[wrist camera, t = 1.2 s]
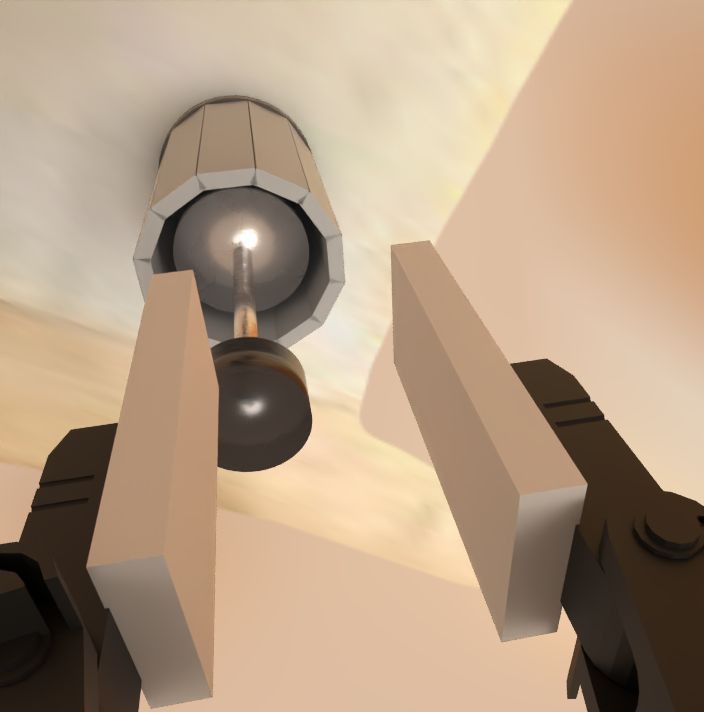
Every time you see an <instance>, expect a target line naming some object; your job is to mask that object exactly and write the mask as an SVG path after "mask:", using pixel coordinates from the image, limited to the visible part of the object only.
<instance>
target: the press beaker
mask: <svg viewBox="0 0 704 712" xmlns="http://www.w3.org/2000/svg"><path fill="white" fill-rule="evenodd" d="M247 185H252V186H257V187H260V188H263V189H265V190H267V191H270V192H272V193H275V194H276V195H278V196H279V197H281V198H282V199H284V200H285V201H286V202H287V203H288V204H289V205H290V206H291V207H292V208H293V209H294V210H295V211H296V213H297V214H298V216H299V217H300V219H301V221H302V223H303V225H304V228H305V232H306V235H307V239H308V245H309V261H308V266H307V270H306V273H305V275H304V278H303V279H302V281H301V283H300V284H299V286H298V287H297V288H296V290H295V291H294V292H293V293H292V294H291V295H290V296H289V297H288V298H286V299H285V300H284V301H282V302H281V303H279V304H277V305H276V306H273V307H271V308H269V309H266V310H263V311H259V312H256V318H257V332H258V338H264V339H268V340H271V341H274V342H277V343H279V344H280V345H282V346H284V347H285V348H289V347H290V346H292V345H293V344H295V343H296V342H298V341H299V340H301V339H302V338H304V337H306V336H307V335H309V334H310V333H312V332H313V331H315V330H316V329H318V328H319V327H321V326H322V324H324V322H325V320H326V318H327V316H328V315H329V313H330V311H331V309H332V307H333V305H334V303H335V301H336V299H337V297H338V295H339V294H340V292H341V290H342V288H343V286H344V284H345V273H344V259H343V246H342V234H341V231H340V229H339V226H338V223H337V221H336V218H335V215H334V213H333V210H332V207H331V205H330V202H329V199H328V197H327V194H326V191H325V189H324V186H323V183H322V181H321V178H320V175H319V173H318V170H317V167H316V164H315V162H314V159H313V156H312V153H311V150H310V148H309V145H308V143H307V141H306V139H305V137H304V135H303V134H302V132H301V131H300V129H299V128H298V127H297V126H296V124H295V123H294V122H293V121H292V120H291V119H290V118H289V117H288V116H287V115H286V114H284V113H283V112H282V111H280V110H279V109H277V108H276V107H274V106H272V105H270V104H268V103H266V102H263V101H261V100H258V99H254V98H250V97H245V96H223V97H217V98H213V99H210V100H207V101H204V102H202V103H200V104H198V105H196V106H194V107H193V108H191V109H190V110H188V111H187V112H186V113H185V114H184V115H183V116H181V117H180V118H179V119H178V121H177V122H176V123H175V124H174V126H173V127H172V129H171V130H170V132H169V134H168V135H167V138H166V140H165V142H164V145H163V148H162V152H161V156H160V161H159V170H158V174H157V177H156V181H155V184H154V187H153V191H152V194H151V198H150V201H149V205H148V208H147V212H146V215H145V218H144V222H143V225H142V229H141V232H140V236H139V239H138V243H137V246H136V249H135V253H134V256H133V262H134V265H135V269H136V273H137V276H138V280H139V284H140V287H141V291H142V294H143V298H144V302H145V301H146V296H147V292H148V287H149V283H150V278H151V275H154V274H162V273H170V272H177V269H176V266H175V263H174V256H173V244H174V237H175V232H176V228H177V225H178V223H179V220H180V218H181V216H182V215H183V213H184V212H185V210H186V209H187V208H188V207H189V205H190V204H191V203H192V202H194V201H195V200H196V199H197V198H198V197H200V196H201V195H203V194H204V193H206V192H208V191H210V190H213V189H220V188H229V187H238V186H247ZM200 304H201V308H202V313H203V318H204V322H205V327H206V331H207V336H208V340H209V345H210V348H212V347H213V346H215V345H217V344H219V343H221V342H223V341H226V340H229V339H233V338H234V313H232V312H226V311H222V310H219V309H216V308H214V307H211V306H209V305H208V304H206V303H204V302H202V301H201V300H200Z"/></svg>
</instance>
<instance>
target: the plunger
mask: <svg viewBox="0 0 704 712" xmlns="http://www.w3.org/2000/svg"><path fill="white" fill-rule="evenodd" d="M173 256H174V263H175V266H176V269H177V272H178V271H186V270H193V272H194V277H195V281H196V286H197V290H198V295H199V299H200V300H201V301H202V302H204V303H206V304H208V305H209V306H211V307H214V308H216V309H219V310H222V311H226V312H232V313H234V338H233V339H229V340H226V341H223V342H221V343H219V344H217V345H215V346H213V347H212V348H210V349H211V354H212V358H213V363H214V367H215V372H216V376H217V381H218V386H219V406H218V456H217V466H218V467H220V468H223V469H227V470H232V471H239V472H253V471H261V470H266V469H269V468H272V467H275V466H278V465H280V464H282V463H284V462H286V461H287V460H289V459H290V458H292V457H293V456H294V455H295V454H297V453H298V452H299V451H300V450H301V448H302V447H303V446H304V444H305V443H306V441H307V440H308V437H309V435H310V432H311V428H312V414H311V408H310V402H309V396H308V390H307V385H306V379H305V374H304V370H303V368H302V365H301V364H300V362H299V360H298V359H297V358H296V356H295V355H294V354H293V353H292V352H291V351H290V350H288V349H287V348H285V347H284V346H282V345H280V344H279V343H277V342H274V341H271V340H268V339H264V338H258V332H257V318H256V312H259V311H263V310H266V309H269V308H271V307H273V306H276V305H277V304H279V303H281V302H282V301H284V300H285V299H286V298H288V297H289V296H290V295H291V294H292V293H293V292H294V291H295V290H296V288H297V287H298V286H299V284H300V283H301V281H302V279H303V278H304V275H305V273H306V270H307V266H308V261H309V245H308V239H307V235H306V232H305V228H304V225H303V223H302V221H301V219H300V217H299V216H298V214H297V213H296V211H295V210H294V209H293V208H292V207H291V206H290V205H289V204H288V203H287V202H286V201H285V200H284V199H282V198H281V197H279V196H278V195H276V194H275V193H272V192H270V191H267V190H265V189H263V188H260V187H257V186H252V185H247V186H238V187H229V188H220V189H213V190H210V191H208V192H206V193H204V194H203V195H201V196H200V197H198V198H197V199H196V200H195V201H194V202H192V203H191V204H190V205H189V207H188V208H187V209H186V210H185V212H184V213H183V215H182V216H181V218H180V220H179V223H178V225H177V228H176V232H175V237H174V244H173Z"/></svg>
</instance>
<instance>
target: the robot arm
mask: <svg viewBox="0 0 704 712" xmlns="http://www.w3.org/2000/svg"><path fill="white" fill-rule="evenodd" d="M391 270H392V308H393V342H394V343H393V345H394V364H395V366H396V369H397V371H398V374H399V377H400V379H401V382H402V385H403V387H404V390H405V392H406V395H407V397H408V400H409V403H410V405H411V408H412V411H413V413H414V416H415V418H416V421H417V424H418V426H419V429H420V431H421V434H422V437H423V439H424V442H425V444H426V447H427V450H428V452H429V455H430V457H431V460H432V463H433V465H434V468H435V471H436V473H437V476H438V478H439V481H440V484H441V486H442V489H443V491H444V494H445V497H446V499H447V502H448V504H449V507H450V510H451V512H452V515H453V517H454V520H455V523H456V525H457V528H458V530H459V533H460V536H461V538H462V541H463V543H464V546H465V549H466V551H467V554H468V556H469V559H470V562H471V564H472V567H473V569H474V572H475V575H476V577H477V580H478V582H479V585H480V588H481V590H482V593H483V595H484V598H485V601H486V603H487V606H488V608H489V611H490V613H491V616H492V619H493V622H494V624H495V626H496V629H497V632H498V635H499V637H500V640H501V642H506V641H511V640H517V639H522V638H527V637H532V636H537V635H543V634H548V633H554V632H557V629H558V624H559V619H560V615H561V610H562V606H563V608H564V610H565V612H566V614H567V616H568V618H569V620H570V622H571V624H572V626H573V628H574V630H575V632H576V634H577V640H576V645H575V649H574V653H573V657H572V661H571V665H570V669H569V673H568V678H567V698H568V699H576V697H577V694H578V690H579V686H580V685H581V689H582V693H583V696H584V700H585V704H586V707H587V711H588V712H704V506H702V505H701V504H699V503H698V502H697V501H694V500H691V499H689V498H686V497H683V496H681V495H678V494H676V493H673V492H666V491H663V490H662V489H661V488H660V486H659V485H658V484H657V482H656V481H655V480H654V479H653V477H652V476H651V475H650V474H649V472H648V471H647V470H646V468H645V467H644V466H643V464H642V463H641V462H640V461H639V459H638V458H637V457H636V455H635V454H634V453H633V452H632V450H631V449H630V448H629V446H628V445H627V444H626V443H625V441H624V440H623V439H622V438H621V436H620V435H619V433H617V431H616V430H615V428H614V427H613V426H612V424H611V423H610V422H609V421H608V420H605V419H604V414H603V413H602V412H601V411H600V409H599V408H598V406H597V405H596V404H595V403H594V402H591V400H590V396H589V395H588V394H587V392H586V391H585V390H584V388H583V387H582V386H581V385H580V383H579V382H578V381H577V379H576V378H575V377H574V376H573V375H571V374H570V373H569V372H567V371H566V370H564V369H562V368H561V367H559V366H558V365H556V364H554V363H553V362H551V361H550V360H548V359H540V360H534V361H527V362H520V363H513V364H509V362H508V361H507V359H506V358H505V356H504V354H503V353H502V351H501V350H500V348H499V347H498V345H497V344H496V342H495V341H494V339H493V338H492V336H491V334H490V333H489V331H488V330H487V328H486V327H485V326H484V324H483V322H482V321H481V319H480V318H479V316H478V314H477V313H476V311H475V310H474V308H473V307H472V305H471V304H470V302H469V301H468V299H467V298H466V296H465V295H464V293H463V291H462V290H461V288H460V287H459V285H458V284H457V282H456V281H455V279H454V277H453V276H452V275H451V273H450V271H449V270H448V268H447V267H446V265H445V264H444V262H443V261H442V259H441V258H440V256H439V254H438V253H437V252H436V250H435V248H434V247H433V245H432V244H431V242H430V241H421V242H413V243H405V244H397V245H391ZM218 406H219V386H218V381H217V376H216V372H215V367H214V363H213V358H212V354H211V349H210V345H209V340H208V336H207V331H206V327H205V322H204V318H203V313H202V308H201V304H200V299H199V295H198V290H197V286H196V281H195V277H194V272H193V270H186V271H178V272H170V273H162V274H154V275H151V278H150V283H149V287H148V292H147V296H146V301H145V305H144V310H143V314H142V319H141V323H140V328H139V332H138V337H137V341H136V346H135V350H134V355H133V359H132V364H131V368H130V373H129V377H128V382H127V386H126V391H125V395H124V400H123V404H122V409H121V413H120V418H119V422H118V423H114V424H107V425H100V426H93V427H86V428H79V429H73V430H70V431H69V433H68V434H67V435H66V436H65V437H64V438H63V439H62V441H61V442H60V443H59V444H58V445H57V446H56V447H55V449H54V450H53V451H52V452H51V453H50V454H49V455H48V458H47V461H46V464H45V467H44V470H43V473H42V476H41V479H40V482H39V485H40V488H39V489H37V491H36V493H35V496H34V499H33V502H32V505H31V508H32V512H30V513H29V514H28V517H27V520H26V523H25V526H24V529H23V531H22V534H21V538H20V540H19V542H12V543H6V544H0V712H138V709H139V701H140V700H139V699H140V692H141V689H142V691H143V693H144V695H145V697H146V699H147V702H148V704H149V706H150V708H151V709H153V708H158V707H163V706H168V705H174V704H179V703H184V702H189V701H195V700H200V699H205V698H210V697H213V655H214V606H215V605H214V604H215V554H216V506H217V456H218Z"/></svg>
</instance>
